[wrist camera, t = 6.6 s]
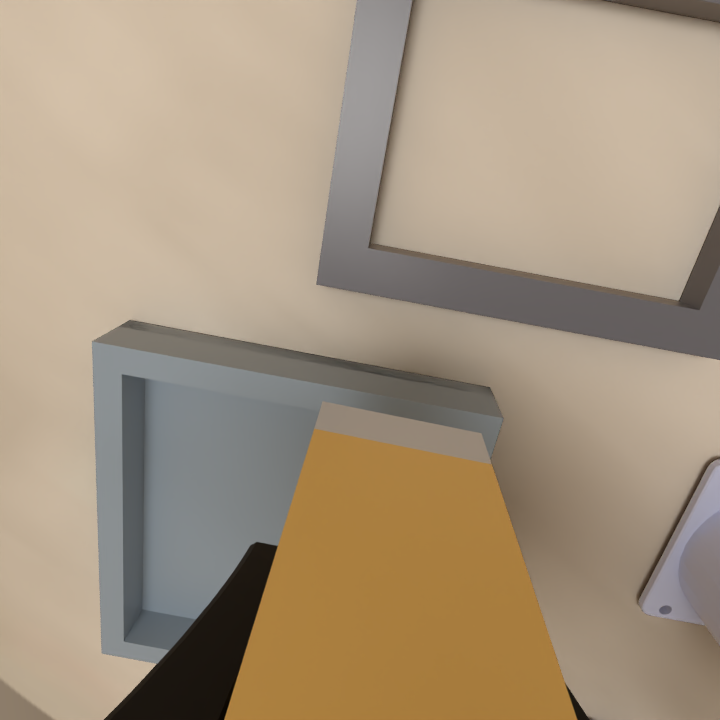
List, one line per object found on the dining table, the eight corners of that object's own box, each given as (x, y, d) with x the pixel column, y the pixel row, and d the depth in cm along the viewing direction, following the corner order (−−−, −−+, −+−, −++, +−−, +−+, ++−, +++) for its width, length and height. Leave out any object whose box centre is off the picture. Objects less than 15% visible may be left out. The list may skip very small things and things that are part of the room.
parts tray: (489, 387, 19) (503, 418, 16) (408, 658, 24) (409, 710, 22) (129, 320, 19) (91, 341, 16) (129, 606, 24) (101, 653, 22)
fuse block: (481, 433, 11) (658, 966, 3) (426, 602, 12) (470, 1176, 5) (322, 401, 11) (177, 873, 3) (290, 575, 12) (152, 1116, 5)
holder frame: (873, -17, 14) (915, -33, 12) (703, 348, 18) (724, 360, 16) (378, -111, 14) (376, -136, 12) (321, 277, 18) (316, 284, 16)
